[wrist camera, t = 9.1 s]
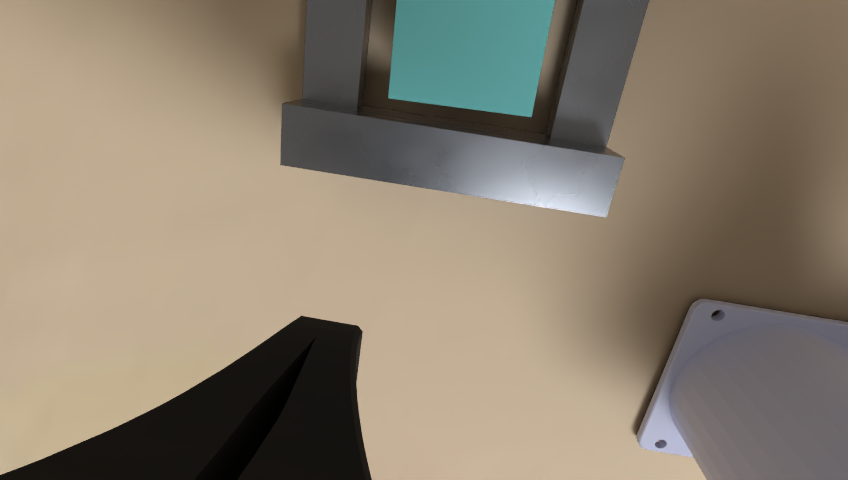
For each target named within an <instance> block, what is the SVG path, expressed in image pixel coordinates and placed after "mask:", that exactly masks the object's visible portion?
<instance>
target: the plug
mask: <svg viewBox="0 0 848 480" xmlns="http://www.w3.org/2000/svg"><path fill="white" fill-rule="evenodd" d="M554 3H555V0H397V2H396V14H395V25H394V37H393V48H392V60H391V72H390V83H389V95H388V98H389V99H396V100H404V101H412V102H419V103H427V104H435V105H442V106H450V107H458V108H465V109H473V110H481V111H488V112H496V113H503V114H511V115H519V116H526V117H532V112H533V107H534V102H535V97H536V92H537V87H538V82H539V77H540V72H541V67H542V62H543V57H544V53H545V48H546V43H547V38H548V33H549V28H550V23H551V18H552V13H553V8H554Z"/></svg>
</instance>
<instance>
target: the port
mask: <svg viewBox="0 0 848 480" xmlns="http://www.w3.org/2000/svg"><path fill="white" fill-rule="evenodd" d="M648 2H649V0H578V1H577V5H576V9H575V14H574V18H573V22H572V26H571V30H570V34H569V39H568V43H567V47H566V51H565V55H564V59H563V63H562V68H561V72H560V76H559V80H558V84H557V88H556V93H555V97H554V101H553V105H552V109H551V113H550V117H549V122H548V126H547V130H546V134H542V133H536V132H529V131H523V130H517V129H510V128H504V127H498V126H491V125H485V124H479V123H472V122H466V121H460V120H454V119H447V118H441V117H435V116H428V115H422V114H416V113H409V112H403V111H397V110H390V109H384V108H378V107H372V106H365V105H363V96H364V85H365V74H366V63H367V52H368V41H369V30H370V19H371V8H372V0H307V5H306V28H305V51H304V74H303V97H302V99H300V100H295V101H291V102H287V103H282V128H281V164H280V165H284V166H291V167H297V168H303V169H309V170H315V171H322V172H328V173H334V174H340V175H346V176H353V177H359V178H365V179H371V180H377V181H384V182H390V183H396V184H402V185H408V186H415V187H421V188H427V189H433V190H440V191H446V192H452V193H458V194H464V195H471V196H477V197H483V198H489V199H495V200H502V201H508V202H514V203H520V204H526V205H533V206H539V207H545V208H551V209H557V210H564V211H570V212H576V213H582V214H588V215H595V216H601V217H607V214H608V210H609V207H610V204H611V201H612V198H613V194H614V191H615V188H616V185H617V182H618V178H619V175H620V172H621V169H622V165H623V162H624V159H625V158H624V157H622V156H621V155H619V154H617V153H615V152H614V151H612V150H610V149H609V148H607V147H606V145H607V142H608V139H609V135H610V132H611V128H612V125H613V122H614V118H615V115H616V111H617V108H618V105H619V101H620V98H621V94H622V91H623V87H624V84H625V81H626V77H627V74H628V70H629V67H630V64H631V60H632V57H633V53H634V50H635V46H636V43H637V40H638V36H639V33H640V29H641V26H642V23H643V19H644V16H645V12H646V9H647V5H648Z"/></svg>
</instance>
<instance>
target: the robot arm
mask: <svg viewBox="0 0 848 480" xmlns="http://www.w3.org/2000/svg"><path fill="white" fill-rule="evenodd" d="M716 310H720V312H719V313H718V314H717V315H715V316H711V315H712V313H713V312H714V311H716ZM361 340H362V330H361V329H360V328H359V327H358V326H356V325H350V324H344V323H338V322H333V321H327V320H321V319H316V318H310V317H304V316H301V317H299V318H298V319H296V320H295V321H293V322H292V323H290V324H289V325H287V326H286V327H284V328H283V329H281V330H280V331H279V332H277V333H276V334H274V335H273V336H271V337H270V338H269V339H267V340H266V341H264V342H263V343H261V344H260V345H259V346H257V347H256V348H254V349H253V350H251V351H250V352H248V353H247V354H245V355H244V356H242V357H241V358H239V359H238V360H236V361H235V362H233V363H232V364H230V365H229V366H227V367H226V368H224V369H222V370H221V371H219V372H217V373H216V374H214V375H212V376H211V377H209V378H207V379H206V380H204V381H202V382H201V383H199V384H197V385H196V386H194V387H192V388H191V389H189V390H187V391H186V392H184V393H182V394H180V395H179V396H177V397H175V398H173V399H171V400H169V401H168V402H166V403H164V404H162V405H160V406H158V407H156V408H154V409H152V410H150V411H148V412H146V413H144V414H142V415H140V416H138V417H136V418H134V419H132V420H130V421H128V422H126V423H124V424H122V425H120V426H118V427H115V428H113V429H111V430H109V431H107V432H104V433H102V434H100V435H97V436H95V437H93V438H90V439H88V440H86V441H83V442H81V443H79V444H76V445H74V446H72V447H69V448H67V449H65V450H62V451H60V452H58V453H55V454H53V455H51V456H48V457H46V458H44V459H41V460H39V461H36V462H34V463H31V464H29V465H26V466H23V467H21V468H18V469H15V470H13V471H10V472H7V473H5V474H2V475H0V480H372V479H371V475H370V471H369V467H368V462H367V458H366V453H365V448H364V443H363V438H362V432H361V425H360V418H359V411H358V402H357V388H356V381H357V372H358V364H359V356H360V348H361ZM636 438H637V441H638V443H639V445H640V446H641V447H642V448H643V449H646V450H652V451H658V452H664V453H670V454H676V455H682V456H688V457H694V459H695V460H696V462H697V464H698V466H699V467H700V469H701V471H702V472H703V474H704V476H705V477H706V479H707V480H848V322H844V321H838V320H832V319H826V318H820V317H814V316H808V315H801V314H795V313H789V312H783V311H777V310H771V309H765V308H759V307H753V306H746V305H740V304H734V303H728V302H722V301H716V300H710V299H700V300H697V301H695V302H694V303H692V305H691V306H690V308H689V311H688V313H687V315H686V318H685V320H684V323H683V325H682V327H681V330H680V332H679V335H678V337H677V339H676V342H675V344H674V347H673V349H672V351H671V354H670V356H669V359H668V361H667V364H666V366H665V368H664V371H663V373H662V376H661V378H660V380H659V383H658V385H657V388H656V390H655V392H654V395H653V397H652V400H651V402H650V404H649V407H648V409H647V412H646V414H645V417H644V419H643V421H642V424H641V426H640V429H639V431H638V433H637V437H636ZM658 440H661V441H659V442H657V441H658Z"/></svg>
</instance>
